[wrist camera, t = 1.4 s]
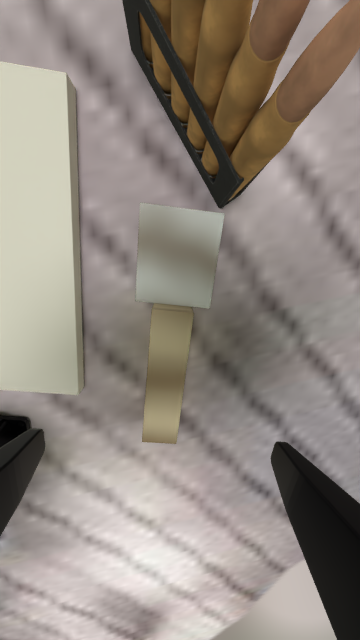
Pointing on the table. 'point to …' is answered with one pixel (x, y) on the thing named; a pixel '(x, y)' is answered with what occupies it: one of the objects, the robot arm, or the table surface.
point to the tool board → (39, 233)
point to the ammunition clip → (236, 77)
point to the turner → (172, 302)
